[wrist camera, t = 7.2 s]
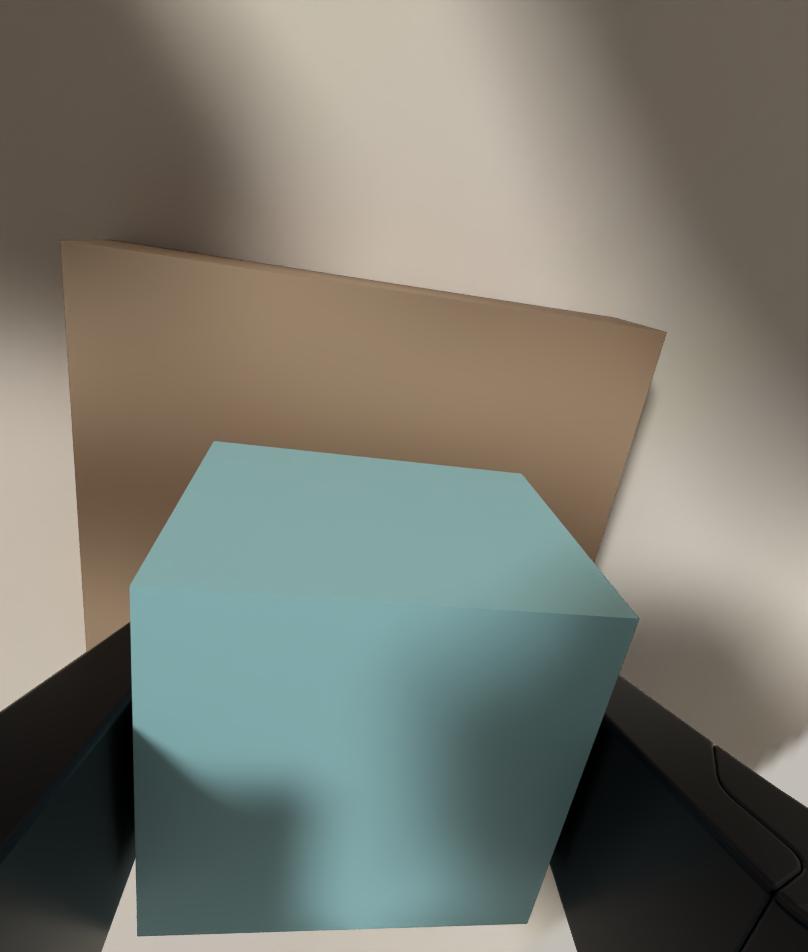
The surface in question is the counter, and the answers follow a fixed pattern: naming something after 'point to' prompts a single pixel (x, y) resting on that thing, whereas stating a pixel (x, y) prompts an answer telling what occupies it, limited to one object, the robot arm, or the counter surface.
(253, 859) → the teal block
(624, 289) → the counter surface
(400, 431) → the walnut base
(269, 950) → the counter surface
